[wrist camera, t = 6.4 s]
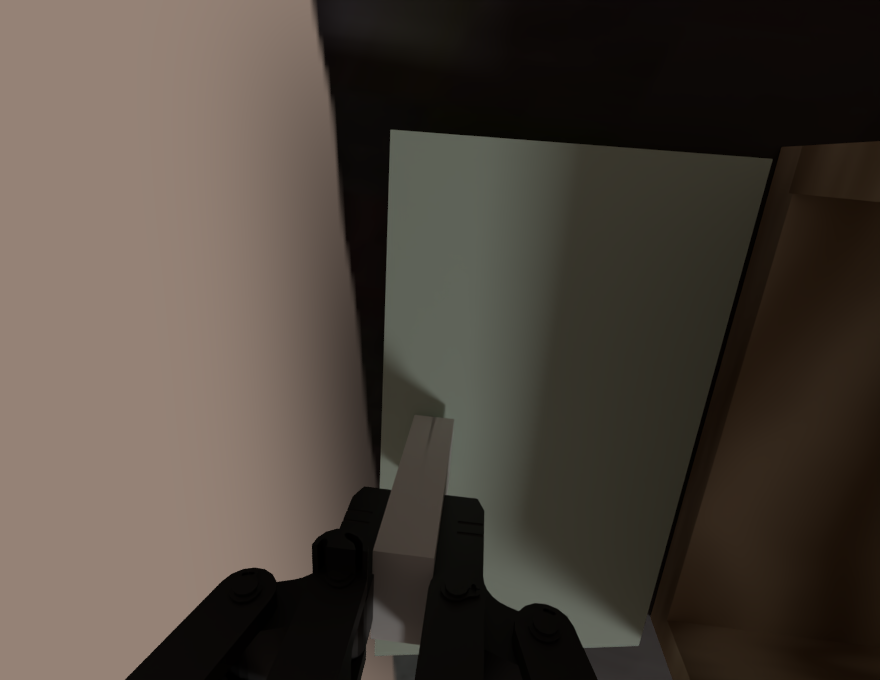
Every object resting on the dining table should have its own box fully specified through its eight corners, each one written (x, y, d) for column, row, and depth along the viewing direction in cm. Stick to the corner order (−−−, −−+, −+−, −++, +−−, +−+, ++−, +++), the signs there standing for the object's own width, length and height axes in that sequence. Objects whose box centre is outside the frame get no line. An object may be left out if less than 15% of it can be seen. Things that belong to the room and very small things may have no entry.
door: (772, 158, 16) (390, 129, 14) (638, 645, 23) (374, 655, 21) (728, 158, 18) (390, 133, 16) (617, 605, 25) (376, 612, 24)
